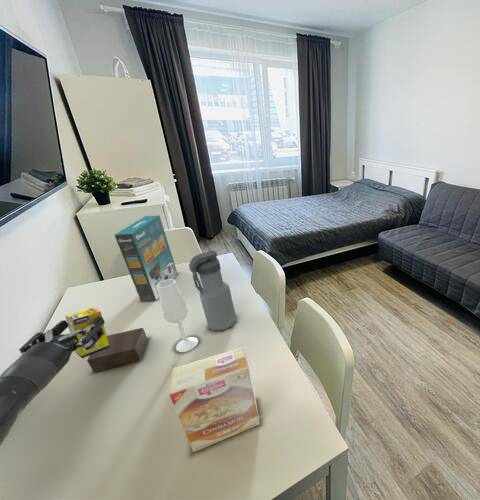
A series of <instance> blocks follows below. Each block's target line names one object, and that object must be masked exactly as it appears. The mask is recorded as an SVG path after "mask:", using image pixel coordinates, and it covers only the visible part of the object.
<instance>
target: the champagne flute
mask: <svg viewBox="0 0 480 500" xmlns="http://www.w3.org/2000/svg"><path fill="white" fill-rule="evenodd" d="M157 288H158V293H159V297H158V298H159V301H160V306H161V310H162V314H163V318H164V319H165V321H167V322H168V323H173V324H177V326H178V329H179V331H180V334H181V337H182V340H180V341H179V342H178V343H177V344H176V346H175V350H176V351H177V352H179V353H186V352H189V351H191V350H193V349H194V348H195V347H196V346H197V345H198V343H199V339H198V338H197V337H195V336H189V337H188V336H187V332H186V330H185V328H184V325H183V321H184V320H185V318H186V317H187V316H188V313H189V307H188V306H187V303H186V301H185V299H184V297H183V294H182V292H181V291H180V288H179V287H178V284H177V282H176V280H175V278H174V279H167V280H163V281H161V282H159V283H158V284H157Z"/></svg>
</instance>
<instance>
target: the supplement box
mask: <svg viewBox="0 0 480 500" xmlns="http://www.w3.org/2000/svg"><path fill="white" fill-rule="evenodd" d="M98 316H102V317H103V315H102V311H100V309H99V310H98V309H97V308H96V307H94V306H93V307H89V308H86V309H83V310H79V311H76V312H72V313H69V314H66V315H65V320H66V322H67V323H68V327H67V328H68V330H69V333H72V332H74V331H76V330H78V329H84V328H86V327H88V326H90V324H91V323H92V322H93V321H94V320H95V319H96V318H97V317H98ZM101 327H102V329H103V331H104V335H103V336H102V337H101V338H100V339H99V340H98V341H97V342H96V343H95V344H94V345H93V347H92V348H91V349H89V350H86V349H85V348H84V347H81V348H78V349H77V350H75V351H74V352H75V354H77V355H78V357H80V358H81V359H86V358H87V357H89V356H90V355H92V354H95V353H97V352H100V351H102V350H105V349H107V348H109V343H108V339H107V336H108V335H107V332H106V328H105V323H104V324H103V325H102V326H101ZM90 332H91V331H90V330H89V331H87V332H86V333H85V334H86V335H87V334H89V333H90ZM76 336H77V338H78V341H80V340H81V339H82V338H81V336H80V334H78V335H76Z"/></svg>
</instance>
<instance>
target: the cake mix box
mask: <svg viewBox="0 0 480 500" xmlns="http://www.w3.org/2000/svg"><path fill="white" fill-rule="evenodd" d="M163 225H164V224H163V222H162V219H161V216H160V215H145V216H143V217H141V218H139V219H138V220H136V221H134V222H133V223H131V224H130V225H128V226H126V227H125V228H123V229H122V230H120V231H118V232H117V233H115V234H114V238H115V241H116V242H117V245H118V248H119V250H120V253H121V255H122V257H123V260H124V262H125V265H126V268H127V270H128V273H129V275H130V278H131V280H132V282H133V283H132V284H133V285H134V287H135V290H136V292H137V295H138V297H139V300H140V302H151V301H157V300H158V299H159V298H160V297H159V293H158V288H157V284H158V283H159V282H161V281H163V280H167V279H174V280H175V277H177V276H178V270H177V267H176V264H175V261H174V257H173V253H172V251H171V248H170V245H169V241H168V237H167V235H166V232H165V229H164V226H163Z"/></svg>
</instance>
